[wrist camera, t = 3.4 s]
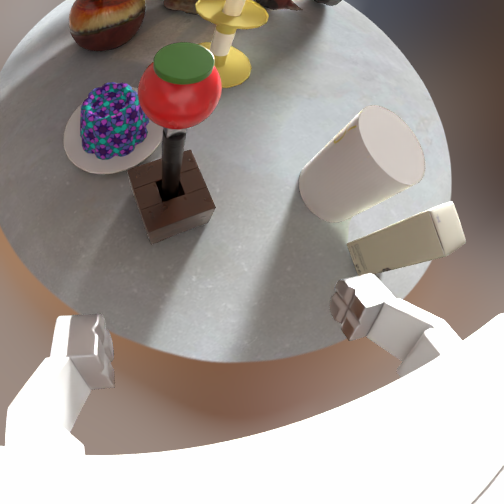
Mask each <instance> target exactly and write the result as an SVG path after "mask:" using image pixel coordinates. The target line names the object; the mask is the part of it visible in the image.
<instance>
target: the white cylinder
mask: <svg viewBox="0 0 504 504" xmlns="http://www.w3.org/2000/svg"><path fill="white" fill-rule="evenodd" d="M424 173H425V158H424V154H423V151H422V148H421V146H420V143H419V141H418V139H417V138H416V136H415V134H414V133H413V131H412V130H411V129H410V127H409V126H408V125H407V124H406V123H405V122H404V121H403V120H402V119H401V118H400V117H399V116H398V115H396V114H395V113H394V112H392V111H390V110H389V109H387V108H384V107H381V106H377V105H370V106H367V107H365V108H364V109H363V110H362V111H361V112H360V113H359V114H358V115H356V116H355V117H354V118H353V119H352V120H351V121H350V122H349V123H348V124H347V125H346V126H345V127H344V128H343V129H342V130H341V131H340V132H339V133H338V134H337V135H336V136H335V137H334V138H333V139H332V140H331V141H330V142H329V143H328V144H327V145H326V146H325V147H324V148H323V149H322V150H321V151H320V152H319V153H318V154H317V155H316V156H314V157H313V158H312V159H311V160H310V161H309V162H308V163H307V164H306V165H305V166H304V168H303V169H302V171H301V173H300V176H299V190H300V194H301V196H302V199H303V201H304V203H305V204H306V206H307V207H308V208H309V209H310V211H311V212H312V213H314V214H315V215H316V216H317V217H319V218H321V219H322V220H325V221H328V222H332V223H338V222H343V221H345V220H347V219H349V218H351V217H353V216H355V215H357V214H359V213H361V212H363V211H365V210H367V209H369V208H371V207H372V206H374V205H376V204H378V203H380V202H382V201H384V200H386V199H388V198H390V197H392V196H394V195H396V194H398V193H400V192H402V191H404V190H405V189H407V188H409V187H411V186H413V185H415V184H417V183H419V182H420V181H421V180H422V178H423V176H424Z"/></svg>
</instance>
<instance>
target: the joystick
mask: <svg viewBox="0 0 504 504" xmlns="http://www.w3.org/2000/svg"><path fill="white" fill-rule="evenodd" d="M214 63H215V60H214V57H213V55H212V53H211V52H210V51H209V50H208V49H206V48H205V47H203V46H201V45H198V44H194V43H188V42H180V43H174V44H170V45H167V46H165V47H163V48H162V49H160V50H159V51H158V52H157V53H156V55H155V57H154V61H153V62H152V63H151V64H150V65H149V66H148V67H147V69H146V70H145V71H144V73H143V75H142V77H141V79H140V82H139V86H138V100H139V104H140V106H141V109H142V111H143V112H144V114H145V115H146V116H147V117H148V118H149V119H150V120H151V121H152V122H153V123H155V124H157V125H159V126H161V127H163V137H162V202H165V201H168V200H171V199H174V198H177V195H178V187H179V179H180V172H181V165H182V158H183V151H184V145H185V138H186V132H187V128H190V127H193V126H195V125H197V124H199V123H201V122H203V121H204V120H205V119H207V118H208V117H209V116H210V115H211V114H212V112H213V111H214V110H215V108H216V107H217V105H218V103H219V100H220V97H221V92H222V83H221V78H220V75H219V73H218V70H217V69H216V67H215V66H214Z"/></svg>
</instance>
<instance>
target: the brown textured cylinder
mask: <svg viewBox="0 0 504 504" xmlns="http://www.w3.org/2000/svg"><path fill="white" fill-rule="evenodd" d="M197 1H198V0H164V6H165V7H167V8H168V9H172V10H182V11H185V12H186V13H192V14H198V13H197V12H196V7H195V4H196V2H197Z"/></svg>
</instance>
